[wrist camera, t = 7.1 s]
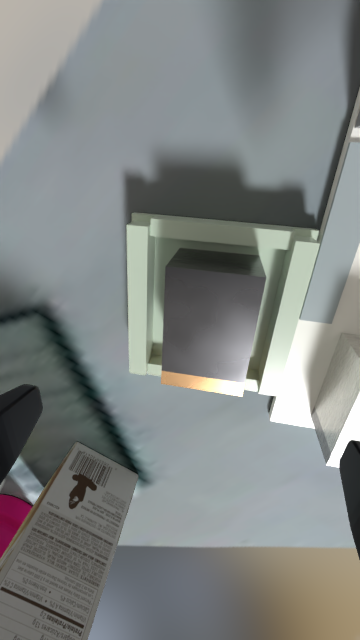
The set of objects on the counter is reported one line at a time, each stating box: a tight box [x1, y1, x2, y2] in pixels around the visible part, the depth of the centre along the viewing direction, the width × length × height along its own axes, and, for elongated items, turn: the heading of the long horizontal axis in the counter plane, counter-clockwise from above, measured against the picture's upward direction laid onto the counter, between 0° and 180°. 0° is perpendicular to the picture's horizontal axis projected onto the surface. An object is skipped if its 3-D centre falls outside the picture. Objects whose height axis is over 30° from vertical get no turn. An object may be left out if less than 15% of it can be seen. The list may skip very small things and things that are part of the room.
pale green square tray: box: [127, 212, 320, 396], centre depth 15 cm, size 9×9×2 cm
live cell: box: [161, 248, 266, 396], centre depth 14 cm, size 4×6×4 cm, turn 177°
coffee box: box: [0, 442, 138, 640], centre depth 19 cm, size 9×6×16 cm
